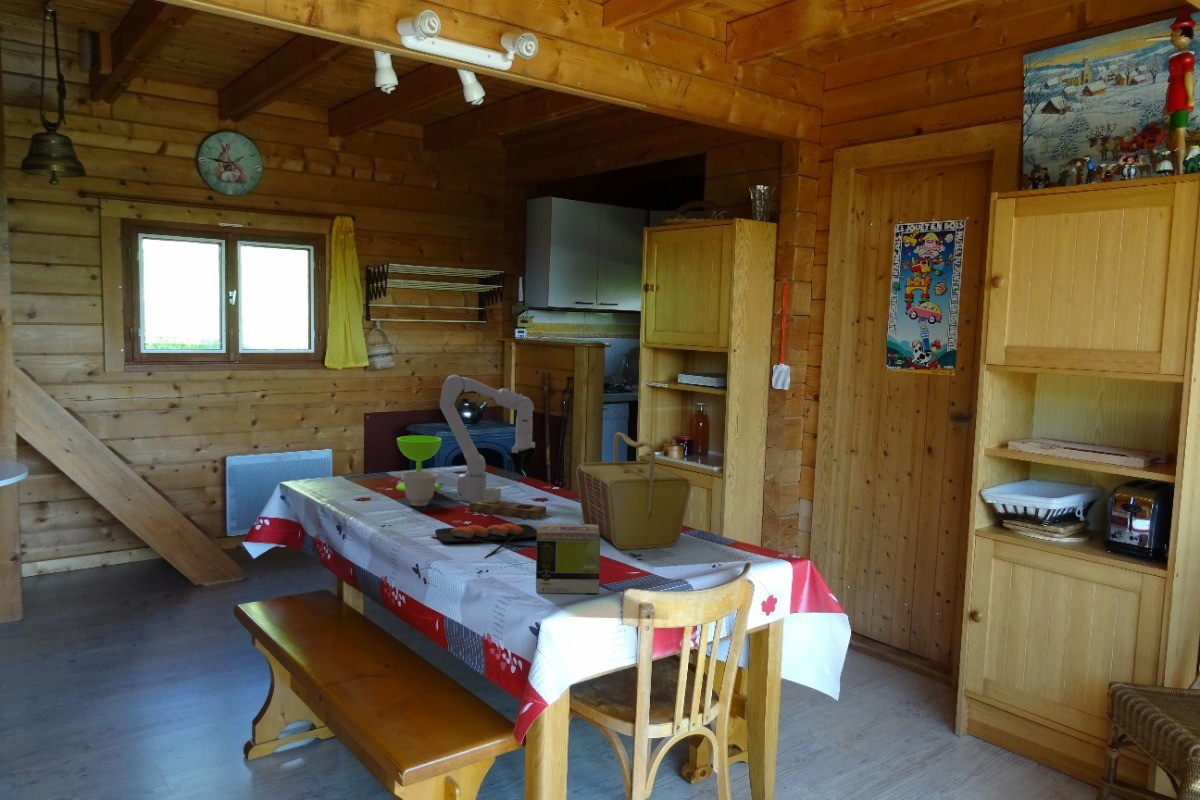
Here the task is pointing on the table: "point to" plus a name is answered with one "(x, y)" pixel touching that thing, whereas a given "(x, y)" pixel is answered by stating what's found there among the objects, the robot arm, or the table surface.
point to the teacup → (419, 487)
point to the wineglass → (418, 451)
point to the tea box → (567, 558)
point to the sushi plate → (488, 534)
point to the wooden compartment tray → (508, 509)
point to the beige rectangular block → (492, 496)
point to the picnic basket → (633, 500)
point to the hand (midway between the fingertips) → (522, 470)
